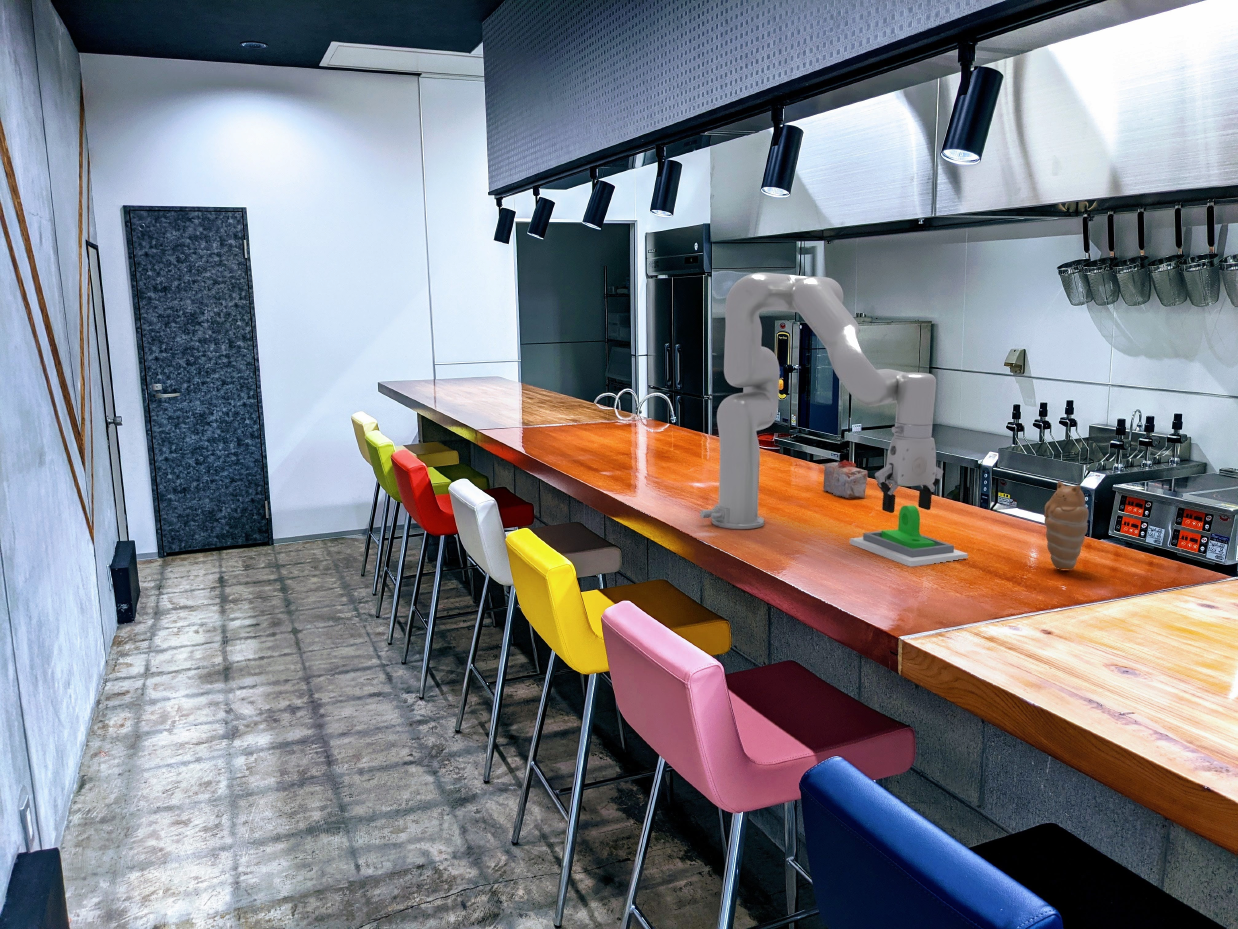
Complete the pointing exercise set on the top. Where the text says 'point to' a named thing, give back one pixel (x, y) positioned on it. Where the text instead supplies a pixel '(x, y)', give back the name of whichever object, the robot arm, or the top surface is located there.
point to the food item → (845, 480)
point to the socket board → (908, 550)
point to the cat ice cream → (1066, 525)
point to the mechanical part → (908, 530)
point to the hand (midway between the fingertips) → (906, 510)
